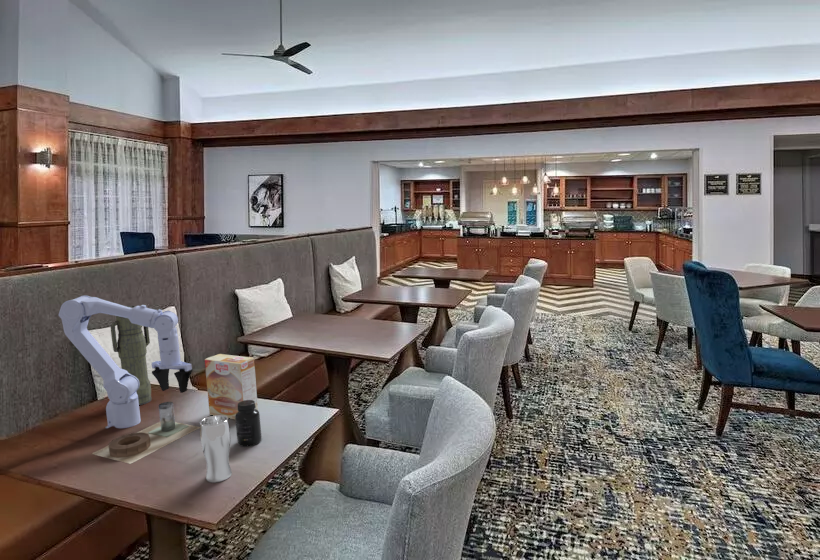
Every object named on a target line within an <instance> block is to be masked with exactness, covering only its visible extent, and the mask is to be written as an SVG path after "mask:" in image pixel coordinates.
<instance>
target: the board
mask: <svg viewBox="0 0 820 560" xmlns="http://www.w3.org/2000/svg"><path fill="white" fill-rule="evenodd" d="M175 426H176V428H175V429H174V430H172V431H169V432H162V431H161V424H160V421H158V422H156V423H154V424H152V425H150V426H148V427H146V428H144V429H142V430H140V431H136V432H132V433H131V432H130V433H128V434H123V435H120V436H118V437H116V438H114V439H112V440H111V441H110V442H109V443H108V444H107V446H105V447H102V448H100V449H97V450H96V451H94V452H92V453H91V455H94V456H98V457H102V458H106V459H110V460H114V461H118V462H122V463H125V464H129V465H131V464H133V463H135V462H137V461H139V460H141V459H143V458H145V457H147V456H149V455H151V454H153V453H154V452H156V451H159V450H160V449H162V448H164V447H166V446H168V445H169V444H172V443H174V442H175V441H177V440H179V439H181V438H183V437H185V436H187V435H189V434H190V433H193V432H195V431H196V430H200V426H196V425H192V424H187V423H183V422H177V421H175Z"/></svg>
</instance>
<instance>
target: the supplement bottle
mask: <svg viewBox="0 0 820 560" xmlns="http://www.w3.org/2000/svg"><path fill="white" fill-rule="evenodd" d="M255 408H256V406H255V401H253V400H245V401H241V402H239V403H238V411H239V412H237V413H236V415H235V419H234V421H235V430H236V431H235V432H236V441H237V444H238V445H239V446H240V447H244V448H245V447H246V448H247V447H248V448H249V447H252V446H255V445H258V444H259V443H260V442H262V437H263V436H262V429H261V427H262V426H261V414H260V411H259V409H258V410H257V409H255Z"/></svg>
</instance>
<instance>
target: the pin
mask: <svg viewBox="0 0 820 560" xmlns="http://www.w3.org/2000/svg"><path fill="white" fill-rule="evenodd" d="M158 413H159V422H160V424H161V431H162V432H169V431H172V430H174V429H175V428H176V426H175V422H176V420H175V419H176V417H175V408H174V402H173V401H164V402H162V403H159V404H158Z"/></svg>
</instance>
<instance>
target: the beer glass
mask: <svg viewBox="0 0 820 560" xmlns="http://www.w3.org/2000/svg"><path fill="white" fill-rule="evenodd" d="M199 427H200V428H199V434H200V436H199V439H200V444H201V449H202V453H203V457H204V459H205V462H206V474H205V480H206V481H207V482H208V483H221V482H224V481H226V480H228V479H229V478H230V477H231V476H232V475H233V473H232V469H231V465H230V449H231V447H230V446H231V429H230V424H229V418H228V417H227V416H224V415H215V416H210V415H209V416H207V417H205V418H203V419H201V420H200V421H199Z"/></svg>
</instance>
